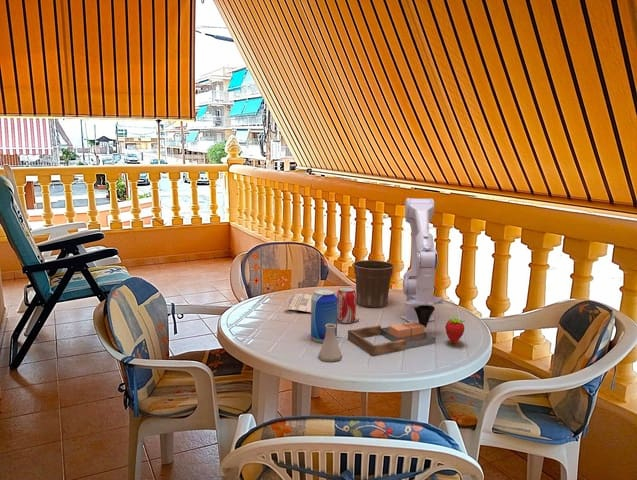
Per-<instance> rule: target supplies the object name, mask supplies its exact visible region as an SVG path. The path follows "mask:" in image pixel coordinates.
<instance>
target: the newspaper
mask: <svg viewBox="0 0 637 480" xmlns="http://www.w3.org/2000/svg"><path fill="white" fill-rule="evenodd" d="M312 296H313V294H307V293H293V294H292V295H288V298H287V301H286V304H285V307H284V308H285V310H284V313H291V314H297V311H301V312H306V313H311V298H312Z"/></svg>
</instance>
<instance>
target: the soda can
mask: <svg viewBox="0 0 637 480" xmlns="http://www.w3.org/2000/svg"><path fill="white" fill-rule="evenodd" d="M336 296H337V299H338V301H337V322H339V323H341V324H352V323H353V322H355V321H356V314H357V297H356V288H354V287H351V286H340V287H338V290H337V292H336Z"/></svg>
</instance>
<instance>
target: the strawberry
mask: <svg viewBox="0 0 637 480" xmlns="http://www.w3.org/2000/svg"><path fill="white" fill-rule="evenodd" d="M458 315H459V314H457V315H456V316H455V317H452V318H449V319H448V320H447V322H446V323H445V333H446V336H447V338H448V339H449V340H450V343H451V344H452V345H455V344H456V343H457V342H459V340H461V339H460V338H462V336H463V335H464V332H465V324H464V323H466V322H465V320H461V319H460V318H457V317H458Z"/></svg>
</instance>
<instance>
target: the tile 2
mask: <svg viewBox="0 0 637 480" xmlns="http://www.w3.org/2000/svg"><path fill="white" fill-rule="evenodd" d="M402 324H404V325H405V326H407V327H409V328H411V335H416V334H422V333H424V331H425V326H424V325H422V324H420V323H418V322H416V321H414V322H408V321H407V322H403V323H402Z"/></svg>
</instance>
